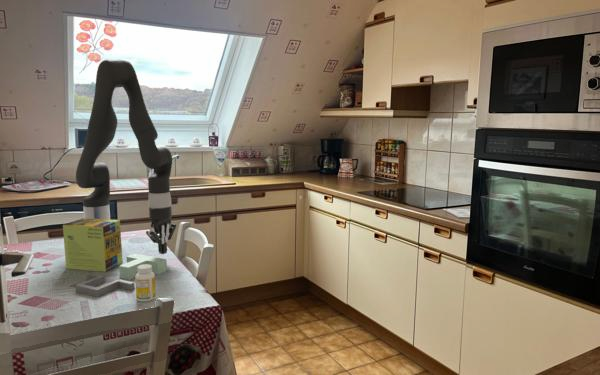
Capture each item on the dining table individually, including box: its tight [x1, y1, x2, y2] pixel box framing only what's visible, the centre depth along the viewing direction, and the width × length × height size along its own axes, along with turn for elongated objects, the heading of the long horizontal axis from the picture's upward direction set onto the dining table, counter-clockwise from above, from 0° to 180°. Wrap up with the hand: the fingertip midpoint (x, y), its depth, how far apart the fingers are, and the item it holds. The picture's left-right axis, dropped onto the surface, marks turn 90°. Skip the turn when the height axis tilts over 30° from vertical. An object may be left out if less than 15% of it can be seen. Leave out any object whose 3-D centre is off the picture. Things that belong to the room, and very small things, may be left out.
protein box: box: [62, 217, 124, 272], centre depth 167 cm, size 10×15×16 cm
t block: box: [118, 253, 168, 281], centre depth 161 cm, size 12×14×4 cm
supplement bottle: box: [134, 264, 157, 303], centre depth 139 cm, size 5×5×10 cm
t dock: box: [75, 272, 136, 298], centre depth 147 cm, size 19×10×2 cm, turn 63°
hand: (162, 253), depth 171 cm, fingers closed
